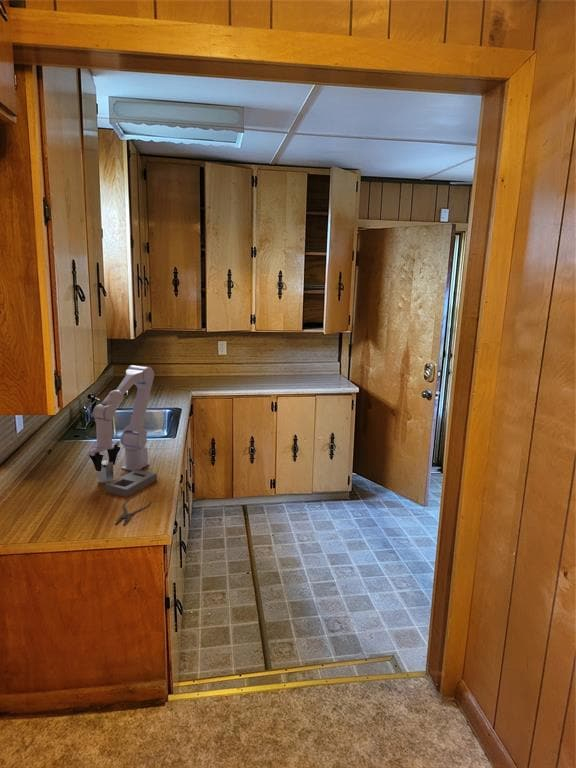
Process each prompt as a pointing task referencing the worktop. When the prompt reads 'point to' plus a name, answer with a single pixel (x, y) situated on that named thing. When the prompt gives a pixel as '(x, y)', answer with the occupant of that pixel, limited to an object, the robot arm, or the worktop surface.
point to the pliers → (128, 516)
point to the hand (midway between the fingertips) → (105, 467)
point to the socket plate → (130, 482)
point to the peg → (106, 472)
